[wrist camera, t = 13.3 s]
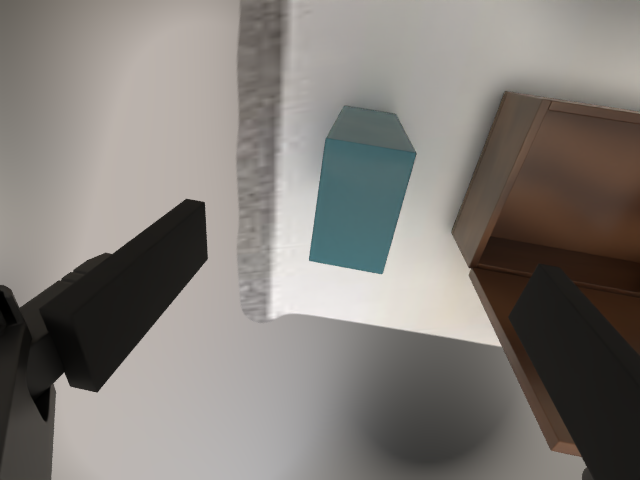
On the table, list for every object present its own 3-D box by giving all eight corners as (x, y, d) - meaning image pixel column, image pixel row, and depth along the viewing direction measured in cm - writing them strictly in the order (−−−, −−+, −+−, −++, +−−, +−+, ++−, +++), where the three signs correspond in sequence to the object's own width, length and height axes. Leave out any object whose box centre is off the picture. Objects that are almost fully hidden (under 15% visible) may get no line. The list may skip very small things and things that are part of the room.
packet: (344, 105, 28) (325, 137, 16) (395, 113, 28) (416, 152, 16) (331, 185, 32) (308, 261, 20) (377, 193, 32) (382, 274, 20)
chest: (504, 90, 26) (542, 98, 20) (752, 129, 25) (865, 148, 20) (451, 232, 33) (468, 268, 27) (646, 266, 32) (707, 311, 26)
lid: (559, 441, 14) (490, 517, 18) (1034, 540, 13) (854, 598, 17) (471, 267, 26) (441, 335, 30) (716, 311, 25) (652, 376, 29)
